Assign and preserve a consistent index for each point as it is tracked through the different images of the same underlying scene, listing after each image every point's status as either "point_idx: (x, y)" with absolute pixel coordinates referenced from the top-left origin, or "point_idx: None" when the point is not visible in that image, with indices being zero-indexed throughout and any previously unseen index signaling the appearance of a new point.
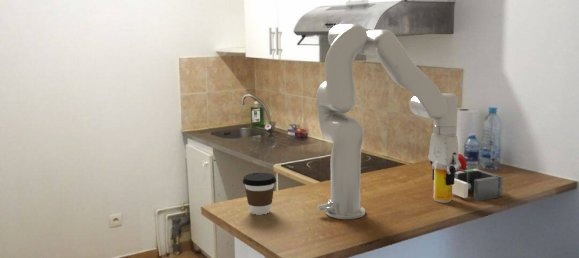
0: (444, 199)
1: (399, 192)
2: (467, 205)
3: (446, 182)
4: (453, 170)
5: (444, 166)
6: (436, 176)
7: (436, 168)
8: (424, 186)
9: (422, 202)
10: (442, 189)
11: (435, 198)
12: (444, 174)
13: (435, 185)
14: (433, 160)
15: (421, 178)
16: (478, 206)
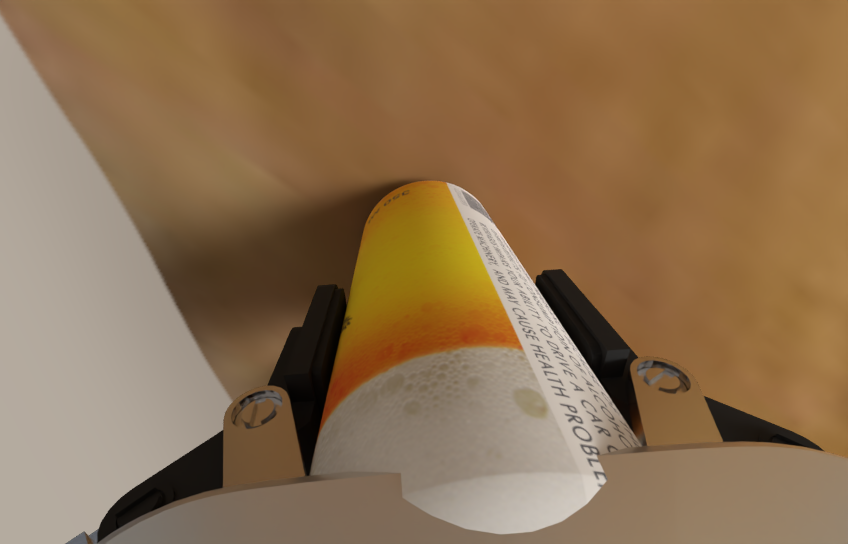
0: (366, 223)
1: (775, 45)
2: (279, 314)
3: (318, 298)
4: (150, 484)
5: (321, 472)
6: (445, 268)
7: (473, 346)
8: (713, 303)
9: (457, 63)
10: (370, 242)
11: (427, 182)
12: (342, 354)
13: (444, 219)
14: (684, 485)
15: (820, 368)
16: (245, 354)
